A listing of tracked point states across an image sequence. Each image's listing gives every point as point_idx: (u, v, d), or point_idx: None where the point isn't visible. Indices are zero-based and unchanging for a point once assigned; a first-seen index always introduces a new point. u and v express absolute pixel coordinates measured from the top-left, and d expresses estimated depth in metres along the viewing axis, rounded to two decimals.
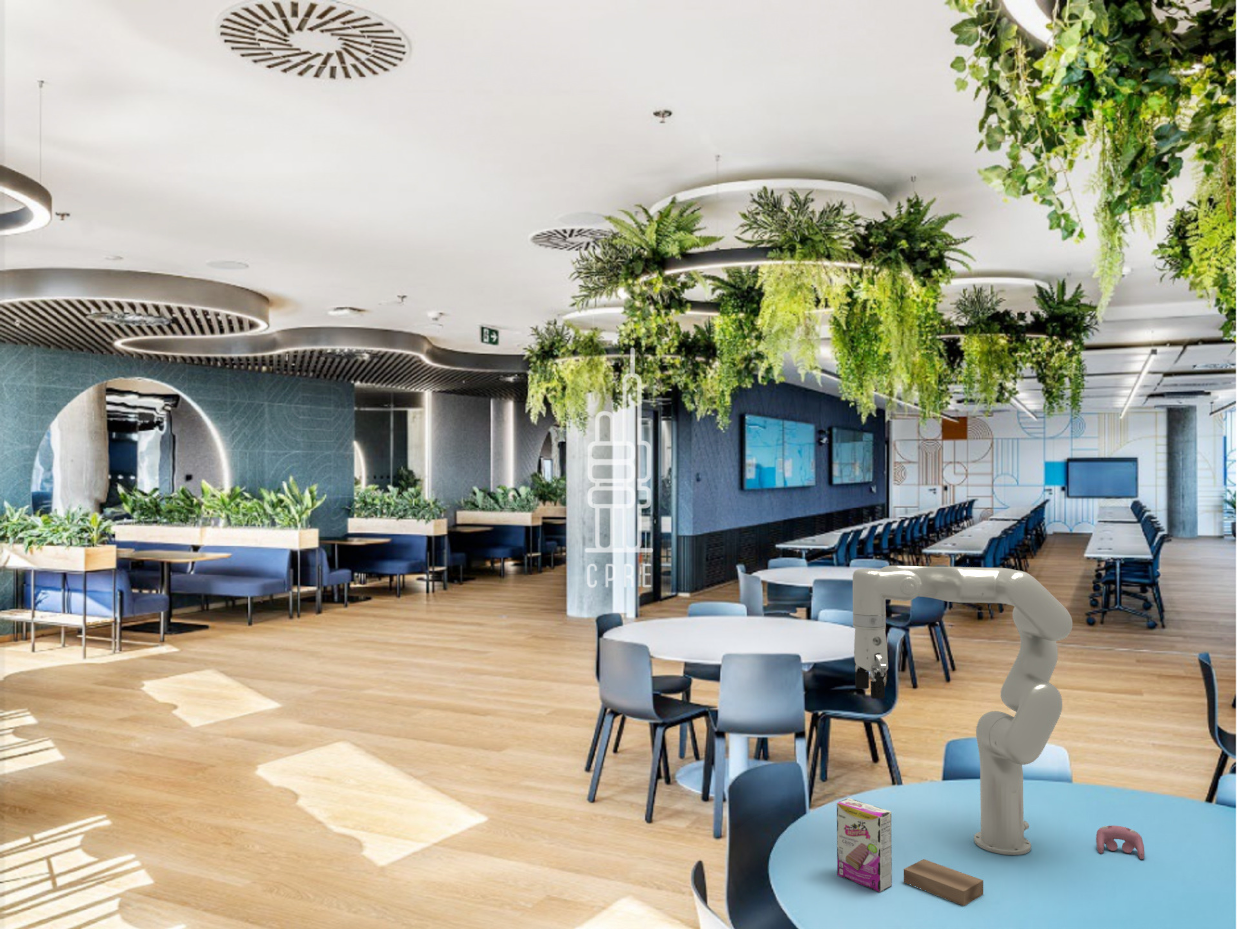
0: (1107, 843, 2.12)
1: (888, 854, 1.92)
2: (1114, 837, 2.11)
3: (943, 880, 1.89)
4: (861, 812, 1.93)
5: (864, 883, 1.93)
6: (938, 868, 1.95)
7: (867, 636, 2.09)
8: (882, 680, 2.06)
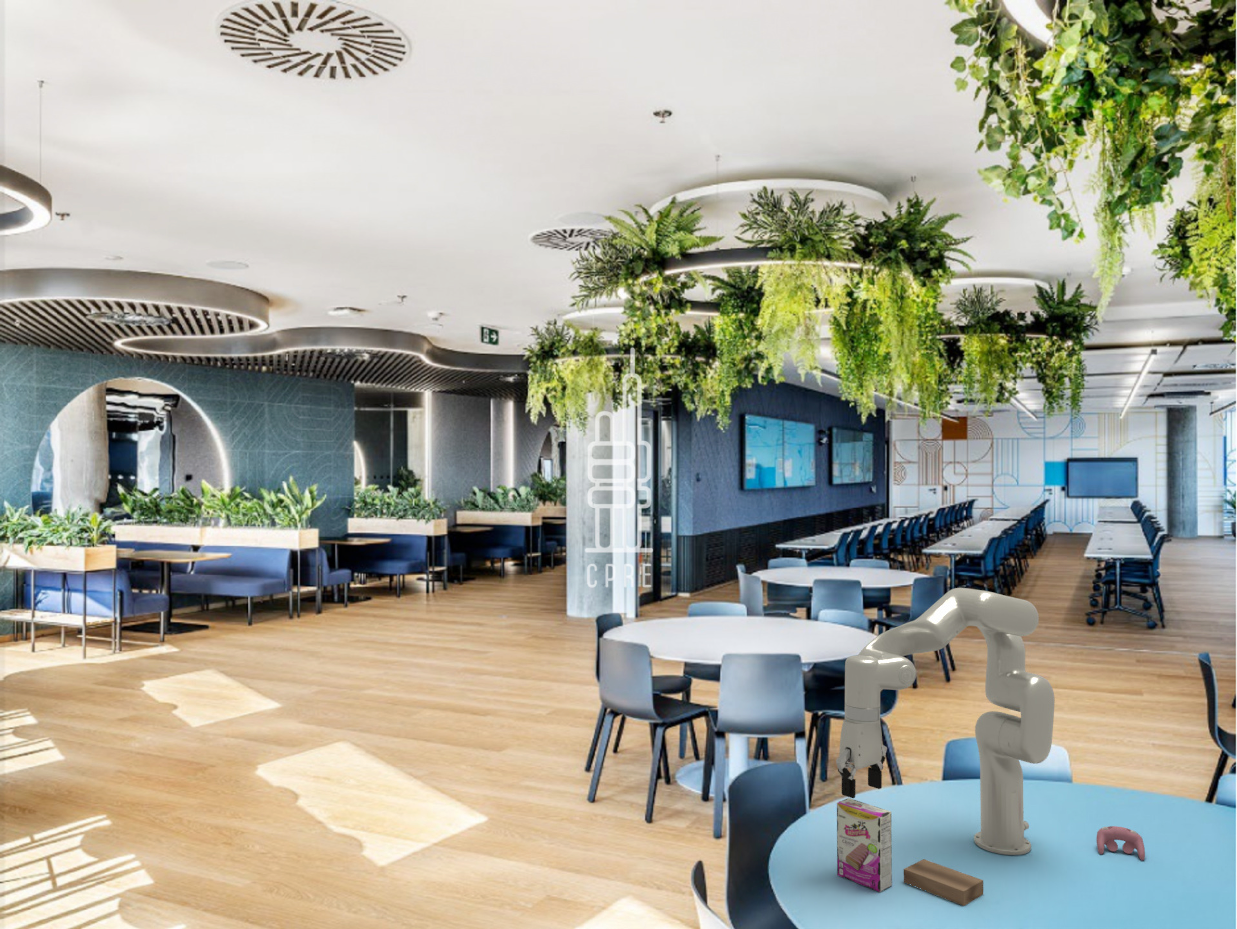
0: (1107, 844, 2.11)
1: (888, 854, 1.92)
2: (1114, 838, 2.11)
3: (943, 880, 1.89)
4: (861, 812, 1.93)
5: (864, 883, 1.93)
6: (938, 868, 1.95)
7: (880, 725, 1.97)
8: None
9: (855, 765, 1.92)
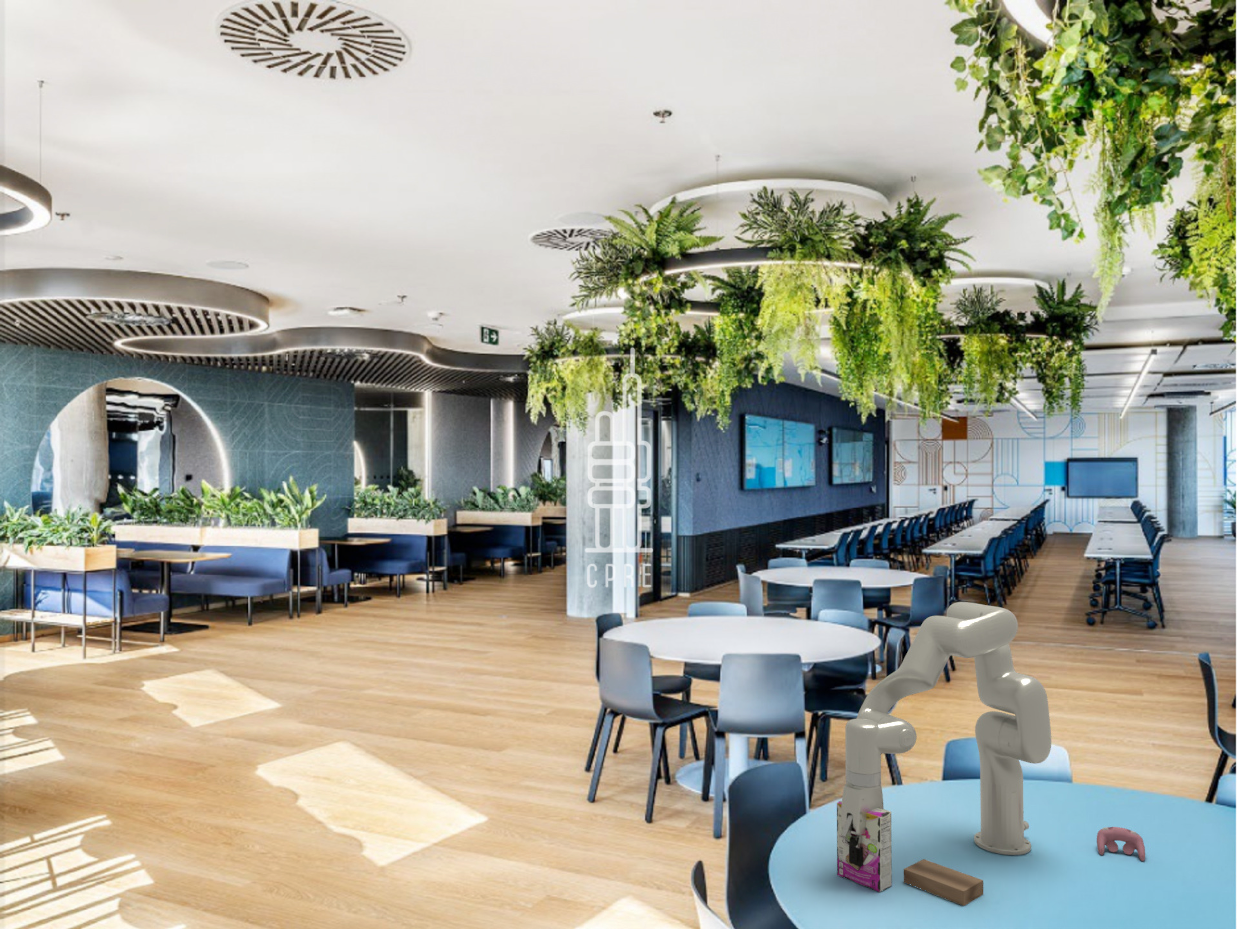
0: (1108, 844, 2.11)
1: (888, 854, 1.92)
2: (1115, 838, 2.10)
3: (943, 880, 1.89)
4: None
5: (864, 883, 1.93)
6: (938, 868, 1.95)
7: (881, 789, 1.97)
8: None
9: (857, 831, 1.91)
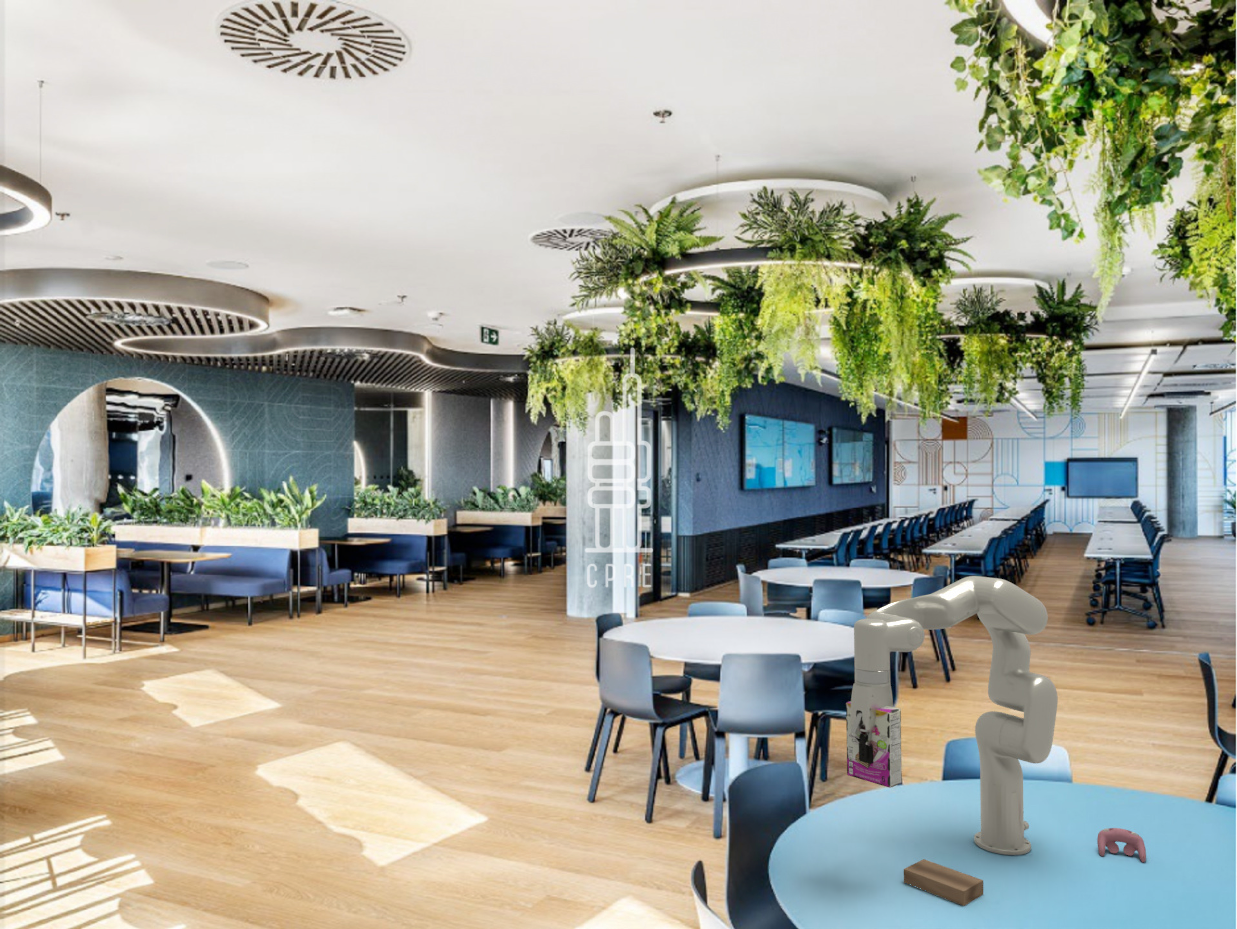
0: (1108, 846, 2.10)
1: (898, 751, 1.92)
2: (1115, 840, 2.10)
3: (943, 880, 1.89)
4: None
5: (874, 780, 1.93)
6: (938, 868, 1.95)
7: (890, 688, 1.97)
8: None
9: (866, 728, 1.92)
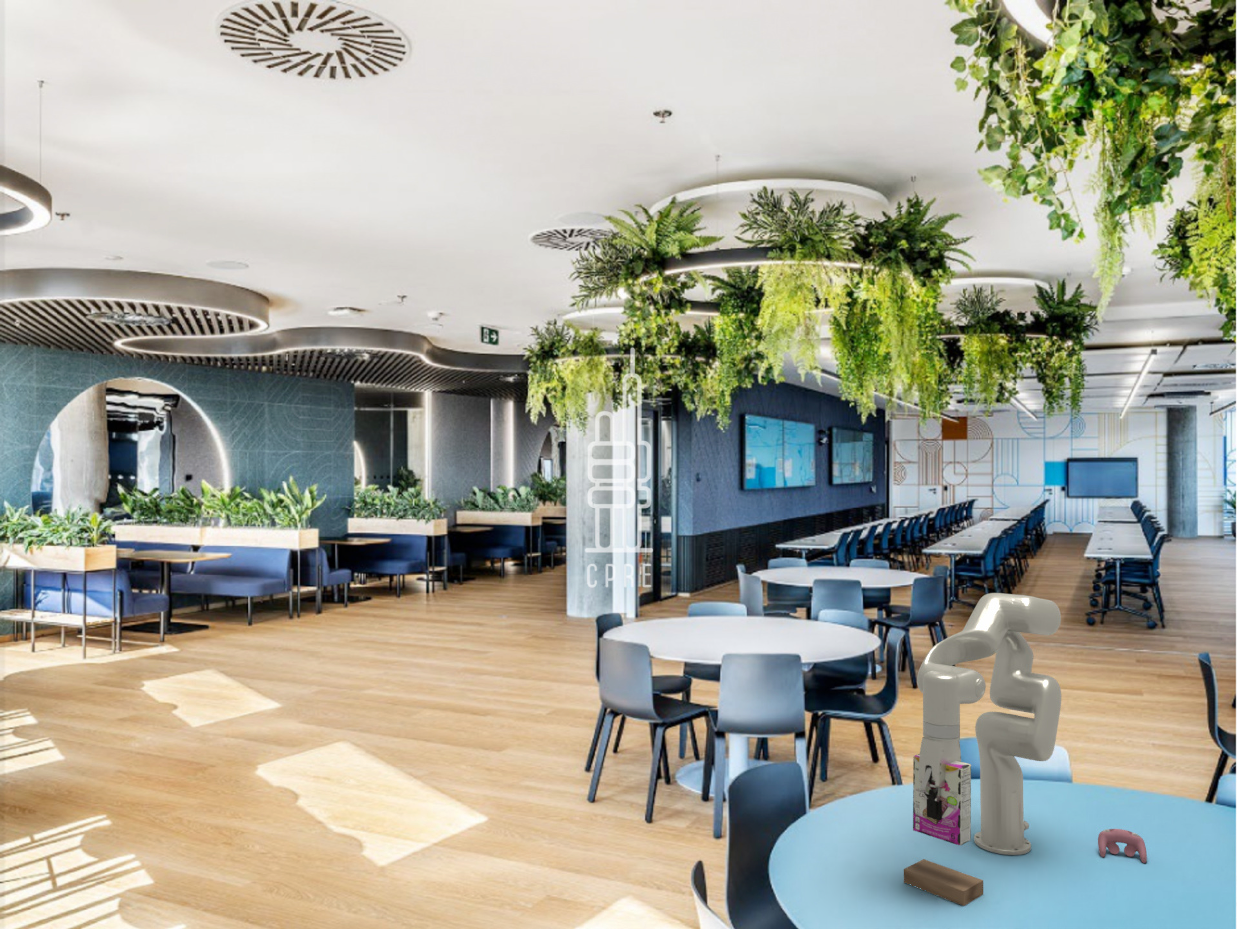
0: (1109, 846, 2.10)
1: (968, 808, 1.89)
2: (1116, 840, 2.09)
3: (943, 880, 1.89)
4: None
5: (942, 837, 1.89)
6: (938, 868, 1.95)
7: (959, 742, 1.94)
8: None
9: (936, 783, 1.88)
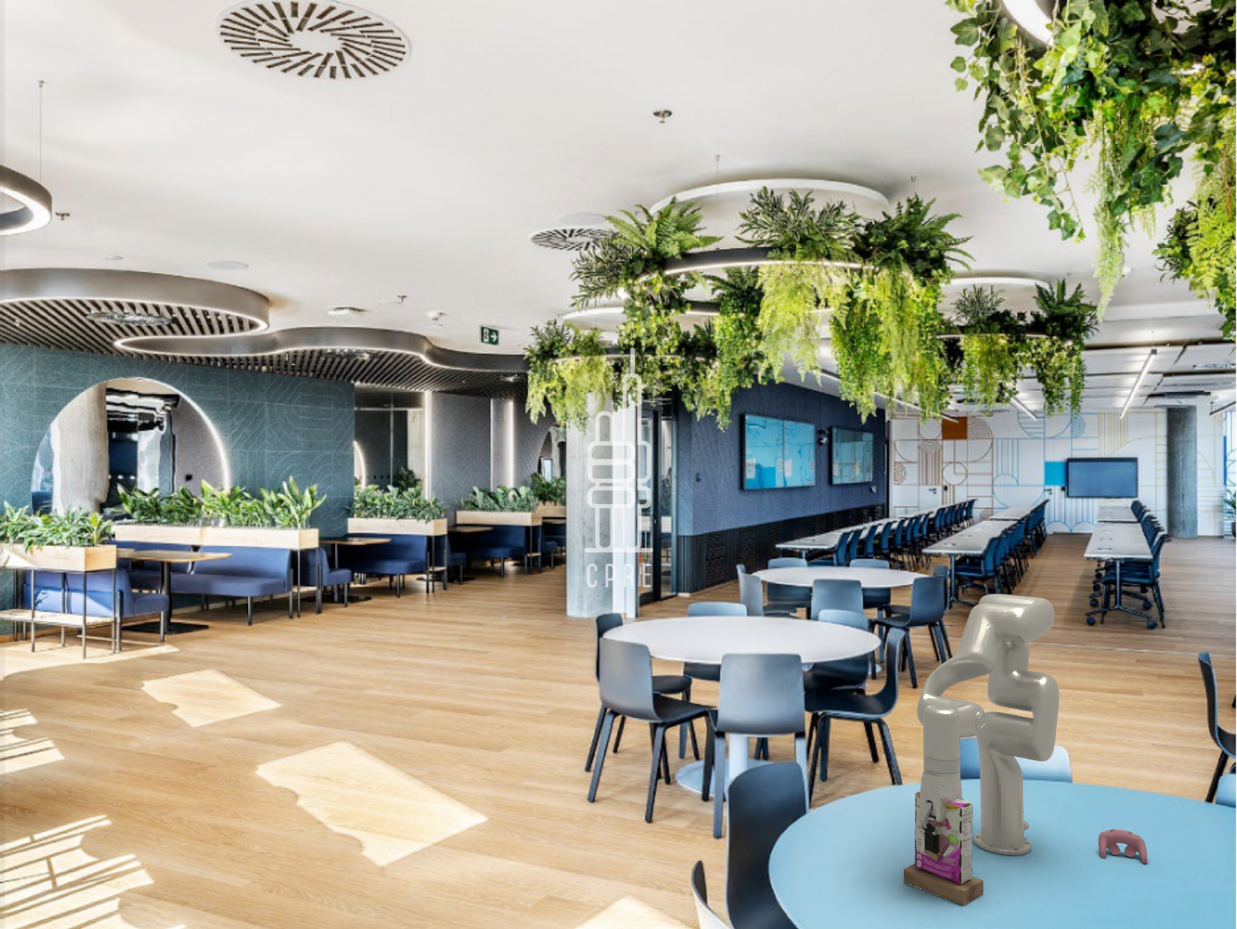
0: (1109, 847, 2.09)
1: (969, 846, 1.89)
2: (1116, 841, 2.09)
3: (943, 880, 1.89)
4: None
5: (944, 875, 1.90)
6: None
7: None
8: None
9: (937, 819, 1.88)
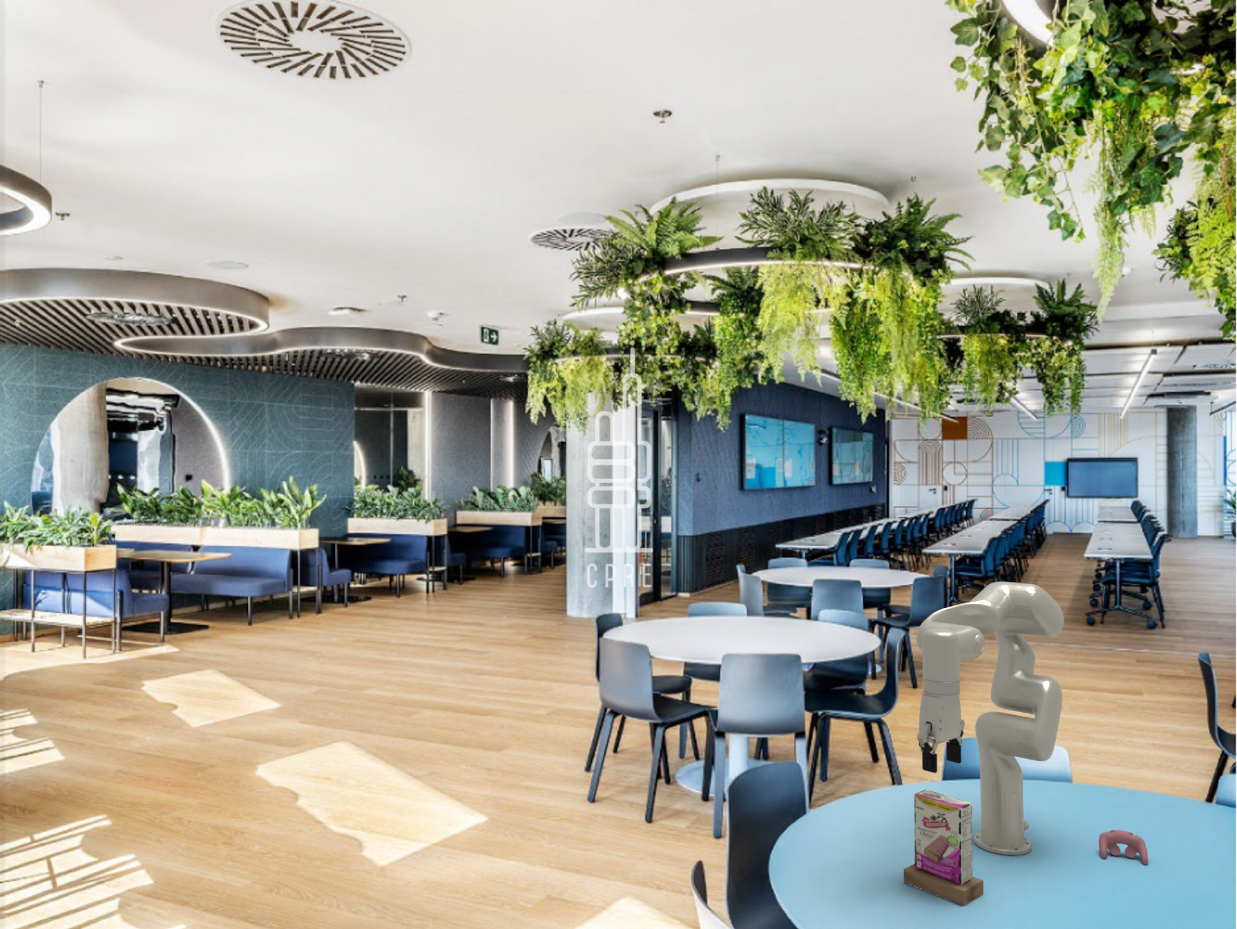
0: (1110, 848, 2.09)
1: (969, 847, 1.89)
2: (1117, 842, 2.08)
3: (943, 880, 1.89)
4: (941, 803, 1.90)
5: (944, 876, 1.90)
6: None
7: (959, 699, 1.94)
8: None
9: (936, 739, 1.88)
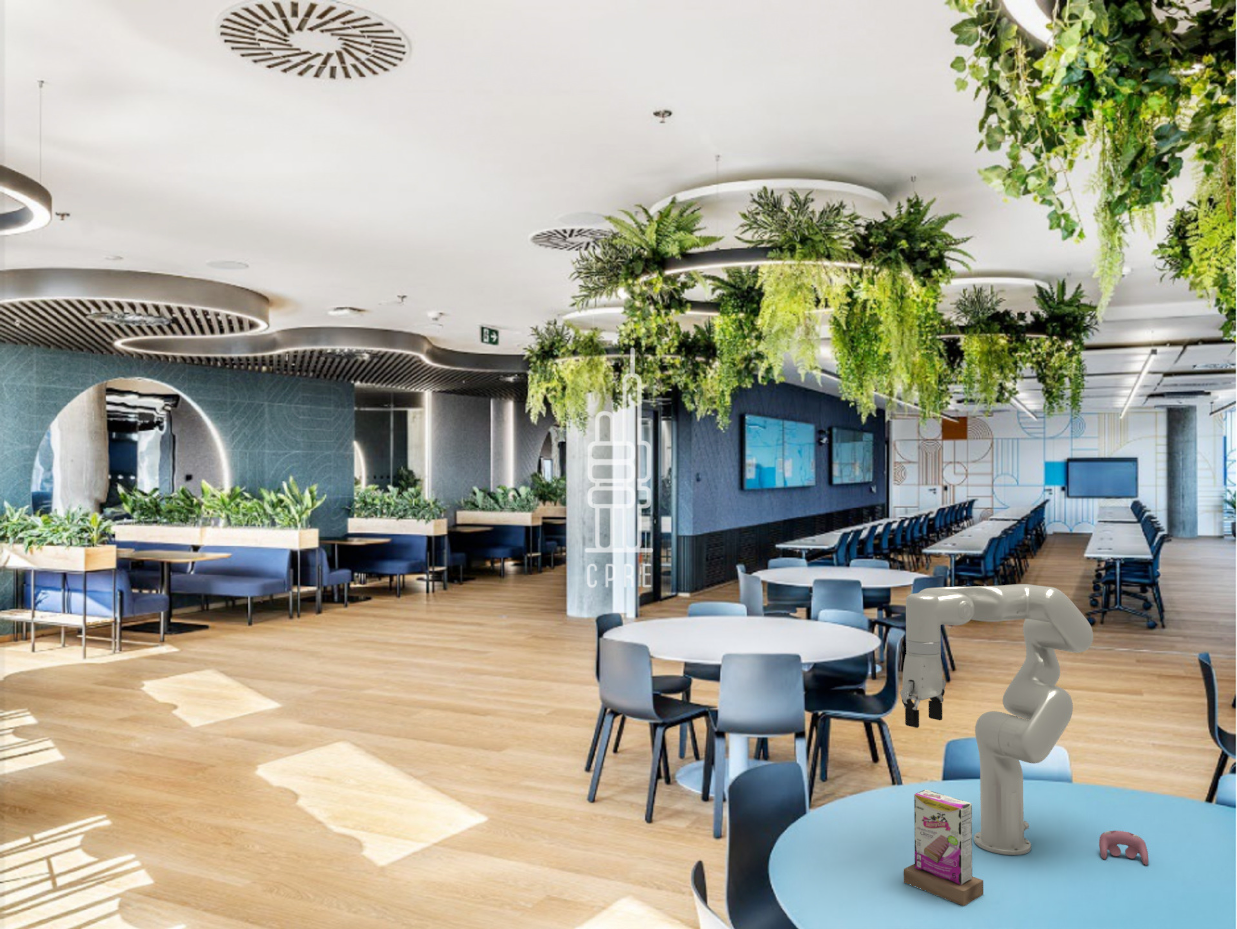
0: (1110, 848, 2.09)
1: (969, 847, 1.89)
2: (1117, 842, 2.08)
3: (943, 880, 1.89)
4: (941, 803, 1.90)
5: (944, 876, 1.90)
6: None
7: (940, 659, 2.06)
8: None
9: (918, 696, 2.00)
